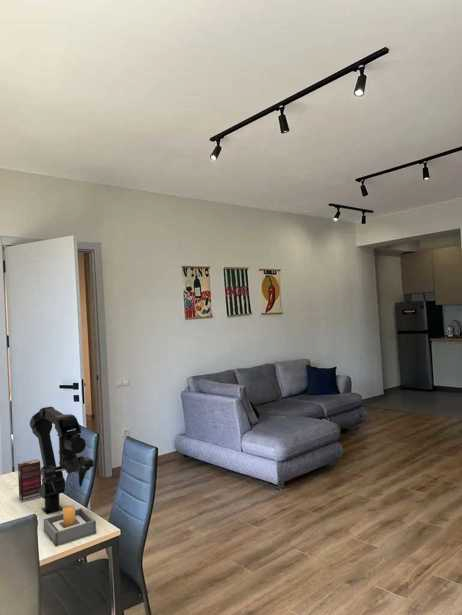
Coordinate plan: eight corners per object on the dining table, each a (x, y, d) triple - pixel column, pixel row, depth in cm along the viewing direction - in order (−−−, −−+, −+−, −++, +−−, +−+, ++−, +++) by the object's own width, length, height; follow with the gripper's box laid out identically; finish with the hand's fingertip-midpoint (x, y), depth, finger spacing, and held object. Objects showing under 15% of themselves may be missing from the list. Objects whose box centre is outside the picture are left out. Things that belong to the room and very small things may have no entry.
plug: (62, 529, 163) (61, 507, 163) (73, 526, 166) (72, 504, 166) (65, 533, 160) (65, 511, 160) (77, 530, 162) (76, 507, 163)
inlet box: (44, 531, 164) (43, 518, 165) (82, 519, 173) (81, 508, 173) (55, 546, 152) (55, 533, 153) (96, 533, 161) (95, 520, 161)
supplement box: (39, 494, 202) (37, 458, 203) (42, 497, 198) (40, 461, 199) (18, 499, 197) (17, 463, 197) (21, 502, 193) (19, 465, 194)
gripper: (47, 458, 161) (49, 502, 161) (98, 447, 173) (99, 488, 172) (39, 452, 170) (40, 493, 170) (88, 442, 181) (89, 481, 181)
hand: (68, 489), depth 173 cm, fingers open, 9 cm apart
